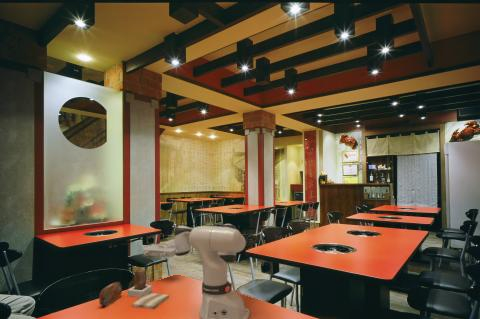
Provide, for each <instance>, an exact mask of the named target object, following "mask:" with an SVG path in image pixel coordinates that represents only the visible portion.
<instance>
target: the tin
mask: <svg viewBox="0 0 480 319" xmlns="http://www.w3.org/2000/svg"><path fill="white" fill-rule="evenodd" d="M122 292H123V286H122V283H121V282H120V281H116V282H113V283H110V284H109V285H107V286H105V287H104V288H102V289H101V291H100V292H99V295H98V296H99V297H98V300H99V301H98V302H99V305H100V306H102V307H103V306H104V307H108V306H110V305H112V304H113V303H114V302H116V301H117V300H119V299H120V298H121V295H122Z"/></svg>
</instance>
